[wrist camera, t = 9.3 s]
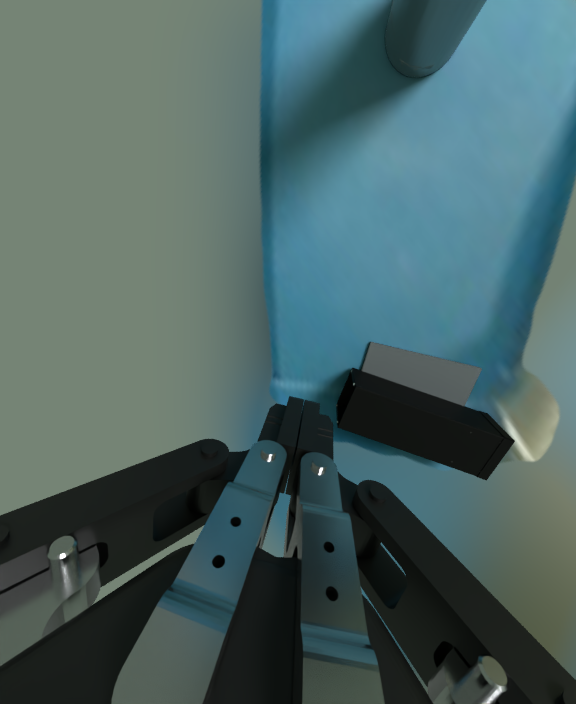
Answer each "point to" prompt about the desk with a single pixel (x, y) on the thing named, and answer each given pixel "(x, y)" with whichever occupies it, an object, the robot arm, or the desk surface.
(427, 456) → the black rectangular bar
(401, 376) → the rubber mat
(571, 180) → the desk surface
